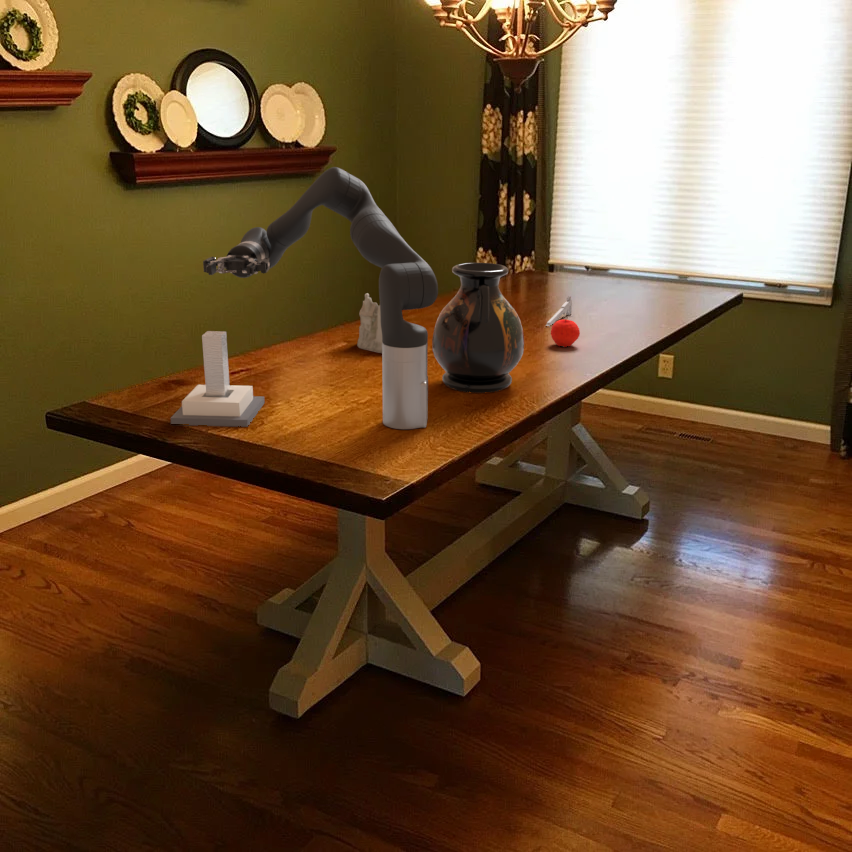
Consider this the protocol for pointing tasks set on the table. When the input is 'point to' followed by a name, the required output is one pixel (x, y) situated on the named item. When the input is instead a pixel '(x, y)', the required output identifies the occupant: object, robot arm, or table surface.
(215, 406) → the socket block
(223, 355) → the steel peg
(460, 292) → the black painted vase
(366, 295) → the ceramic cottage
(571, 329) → the apple
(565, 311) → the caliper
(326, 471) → the table surface
